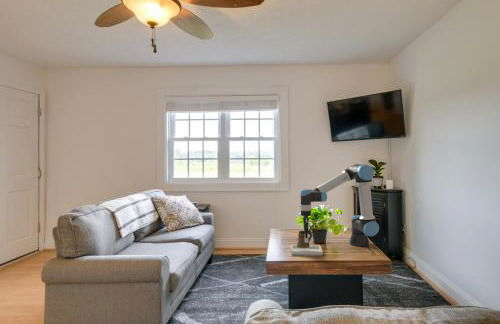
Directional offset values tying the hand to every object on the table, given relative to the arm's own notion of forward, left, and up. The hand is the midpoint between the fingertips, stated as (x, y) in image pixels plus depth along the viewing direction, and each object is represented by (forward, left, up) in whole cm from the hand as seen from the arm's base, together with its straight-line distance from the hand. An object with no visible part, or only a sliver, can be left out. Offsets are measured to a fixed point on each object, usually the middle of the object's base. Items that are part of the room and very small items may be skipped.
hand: (306, 241), depth 230 cm
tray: (0, 0, -8) cm, 8 cm away
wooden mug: (0, +1, -4) cm, 4 cm away
